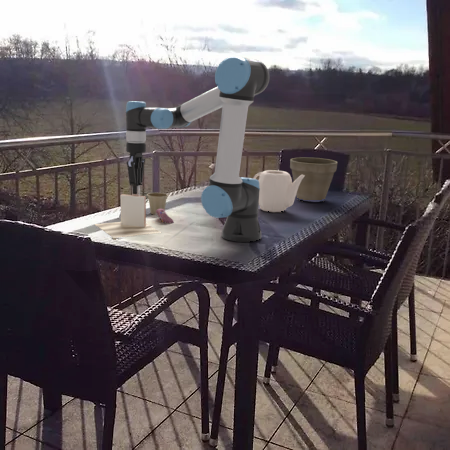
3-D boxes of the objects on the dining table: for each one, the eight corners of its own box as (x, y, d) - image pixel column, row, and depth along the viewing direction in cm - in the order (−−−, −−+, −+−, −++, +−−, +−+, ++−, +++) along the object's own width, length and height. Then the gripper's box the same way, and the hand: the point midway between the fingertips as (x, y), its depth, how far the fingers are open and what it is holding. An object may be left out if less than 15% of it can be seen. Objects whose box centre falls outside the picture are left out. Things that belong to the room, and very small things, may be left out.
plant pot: (323, 207, 259) (327, 164, 254) (279, 200, 271) (282, 159, 266) (340, 200, 280) (344, 160, 274) (298, 194, 292) (301, 156, 287)
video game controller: (159, 223, 218) (152, 209, 215) (168, 218, 219) (161, 204, 216) (165, 228, 209) (158, 214, 207) (175, 223, 210) (167, 209, 207)
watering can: (296, 217, 232) (299, 176, 228) (243, 209, 244) (245, 170, 240) (307, 211, 246) (310, 172, 241) (256, 204, 258) (259, 167, 253)
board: (161, 234, 194) (161, 232, 194) (113, 240, 184) (113, 237, 184) (139, 221, 212) (139, 220, 212) (94, 226, 202) (94, 224, 202)
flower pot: (164, 216, 224) (164, 197, 221) (143, 214, 225) (143, 195, 223) (170, 212, 233) (170, 193, 230) (151, 210, 234) (151, 192, 232)
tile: (145, 225, 203) (145, 196, 200) (144, 226, 201) (144, 197, 198) (122, 223, 205) (122, 194, 202) (120, 224, 203) (120, 194, 201)
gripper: (134, 140, 205) (134, 197, 211) (119, 142, 193) (120, 203, 198) (151, 141, 203) (151, 199, 209) (138, 143, 191) (138, 205, 197)
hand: (136, 201), depth 204 cm, fingers closed
